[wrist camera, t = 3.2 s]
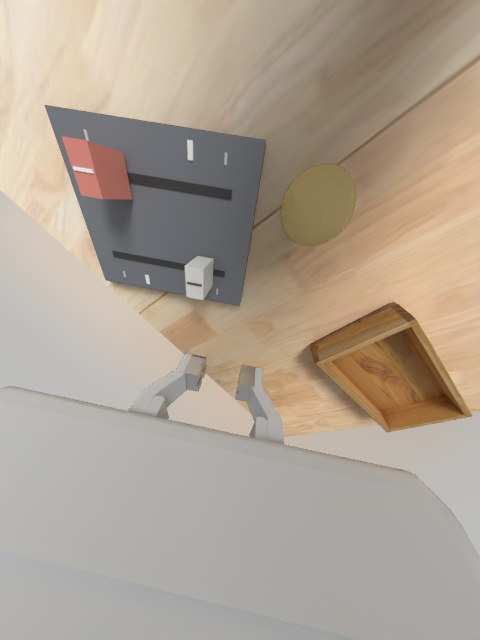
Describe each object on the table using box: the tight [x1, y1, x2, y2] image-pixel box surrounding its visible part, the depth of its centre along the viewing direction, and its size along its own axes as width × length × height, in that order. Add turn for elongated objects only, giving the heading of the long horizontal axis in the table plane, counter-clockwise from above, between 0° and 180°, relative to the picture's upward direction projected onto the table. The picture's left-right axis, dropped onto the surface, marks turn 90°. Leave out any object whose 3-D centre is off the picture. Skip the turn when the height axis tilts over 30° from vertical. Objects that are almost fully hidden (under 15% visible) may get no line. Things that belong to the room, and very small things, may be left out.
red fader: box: [62, 136, 132, 200], centre depth 19 cm, size 2×4×5 cm, turn 172°
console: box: [45, 105, 266, 306], centre depth 24 cm, size 24×20×2 cm
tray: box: [310, 302, 472, 432], centre depth 34 cm, size 31×15×6 cm, turn 45°
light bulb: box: [281, 164, 356, 246], centre depth 18 cm, size 6×6×10 cm
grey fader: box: [185, 256, 214, 300], centre depth 24 cm, size 2×4×5 cm, turn 172°
